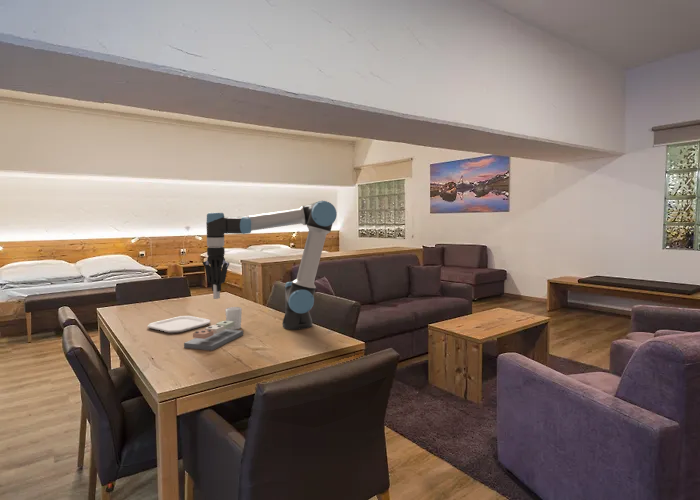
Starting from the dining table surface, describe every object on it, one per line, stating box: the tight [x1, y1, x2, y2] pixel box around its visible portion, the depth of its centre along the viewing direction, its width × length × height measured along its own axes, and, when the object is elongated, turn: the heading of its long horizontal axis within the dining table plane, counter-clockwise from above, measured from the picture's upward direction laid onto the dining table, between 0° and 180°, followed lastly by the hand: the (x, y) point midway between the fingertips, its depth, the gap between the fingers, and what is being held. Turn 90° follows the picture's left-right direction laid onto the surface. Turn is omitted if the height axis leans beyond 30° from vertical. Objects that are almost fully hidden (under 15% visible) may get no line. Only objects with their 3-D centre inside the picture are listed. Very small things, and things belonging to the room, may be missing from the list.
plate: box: [147, 315, 211, 334], centre depth 212 cm, size 25×25×2 cm
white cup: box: [224, 306, 243, 330], centre depth 208 cm, size 8×8×10 cm
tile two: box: [204, 324, 224, 334], centre depth 186 cm, size 6×6×2 cm
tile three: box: [192, 328, 214, 339], centre depth 179 cm, size 6×6×2 cm
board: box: [183, 329, 244, 351], centre depth 187 cm, size 14×24×2 cm, turn 162°
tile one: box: [215, 320, 234, 329], centre depth 194 cm, size 6×6×2 cm
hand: (216, 298), depth 188 cm, fingers closed
